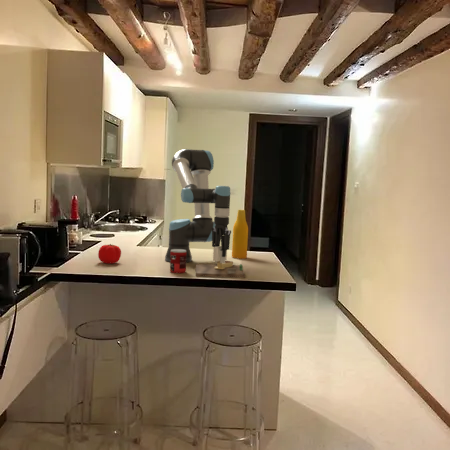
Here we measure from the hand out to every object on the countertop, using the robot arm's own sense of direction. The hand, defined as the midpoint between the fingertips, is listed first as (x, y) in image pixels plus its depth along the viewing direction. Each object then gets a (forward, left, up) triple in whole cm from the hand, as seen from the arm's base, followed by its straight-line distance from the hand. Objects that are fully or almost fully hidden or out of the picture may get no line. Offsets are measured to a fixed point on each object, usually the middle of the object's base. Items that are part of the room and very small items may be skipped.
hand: (219, 262), depth 240 cm
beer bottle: (+14, +44, -5) cm, 46 cm away
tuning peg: (+2, +2, -3) cm, 5 cm away
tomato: (-58, +14, -5) cm, 60 cm away
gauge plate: (0, 0, -5) cm, 5 cm away
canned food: (-21, -3, -5) cm, 22 cm away
